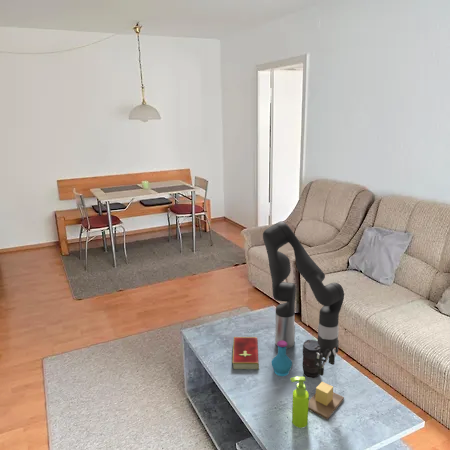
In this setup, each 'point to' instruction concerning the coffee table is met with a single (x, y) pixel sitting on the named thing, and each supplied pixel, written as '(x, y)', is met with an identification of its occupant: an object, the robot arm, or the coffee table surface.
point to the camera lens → (310, 358)
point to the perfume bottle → (281, 360)
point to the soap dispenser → (300, 403)
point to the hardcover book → (245, 353)
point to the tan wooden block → (324, 393)
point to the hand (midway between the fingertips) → (326, 369)
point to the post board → (323, 409)
